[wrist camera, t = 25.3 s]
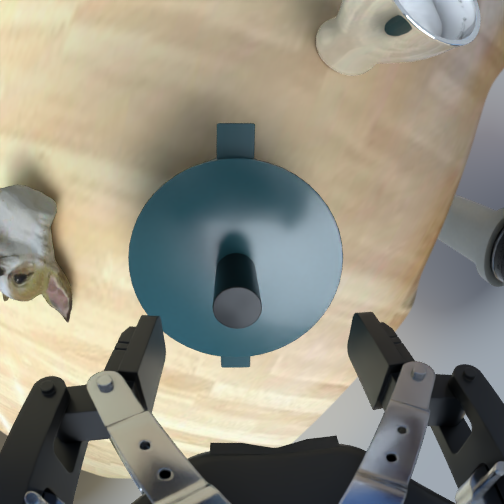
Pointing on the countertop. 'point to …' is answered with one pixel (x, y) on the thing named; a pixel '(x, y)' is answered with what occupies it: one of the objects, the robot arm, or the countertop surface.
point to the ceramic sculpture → (30, 249)
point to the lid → (235, 257)
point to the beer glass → (394, 32)
